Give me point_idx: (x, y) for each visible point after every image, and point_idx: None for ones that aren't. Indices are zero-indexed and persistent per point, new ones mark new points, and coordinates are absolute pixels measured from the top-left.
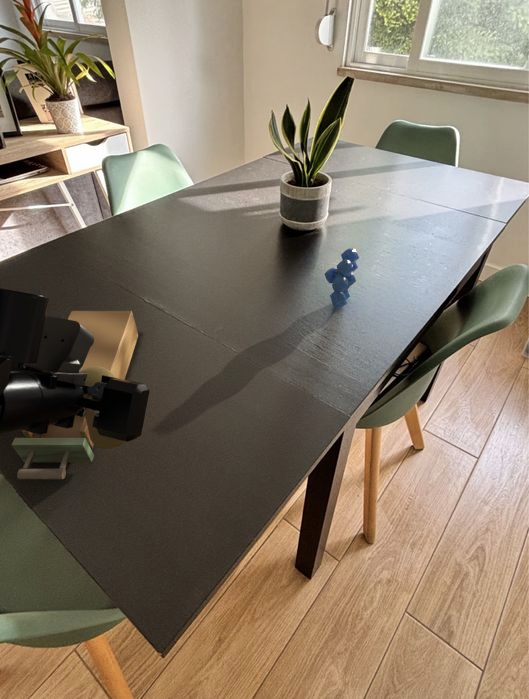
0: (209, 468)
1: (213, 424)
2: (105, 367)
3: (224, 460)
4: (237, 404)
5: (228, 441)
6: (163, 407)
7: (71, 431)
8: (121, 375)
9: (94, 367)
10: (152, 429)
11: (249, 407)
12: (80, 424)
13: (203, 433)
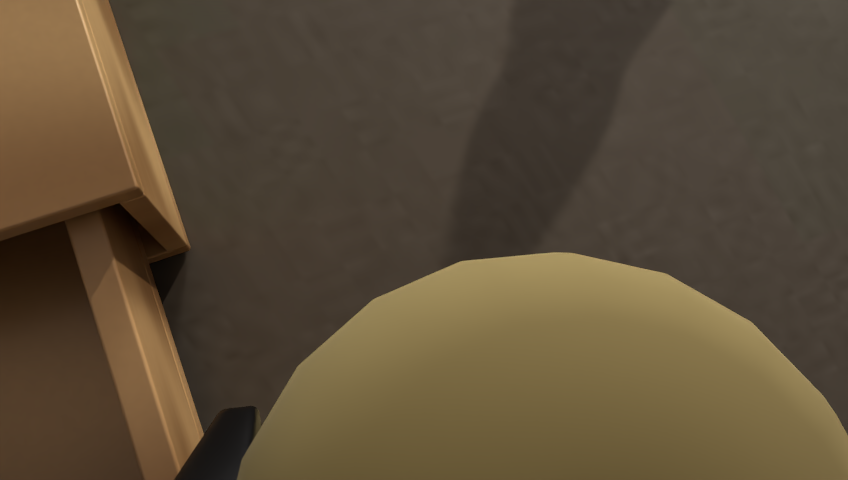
0: (803, 364)
1: (695, 143)
2: (33, 18)
3: (839, 302)
4: (735, 8)
5: (803, 205)
6: (419, 129)
7: (46, 469)
8: (107, 19)
9: (483, 348)
10: (441, 266)
11: (790, 8)
12: (71, 406)
13: (680, 203)
